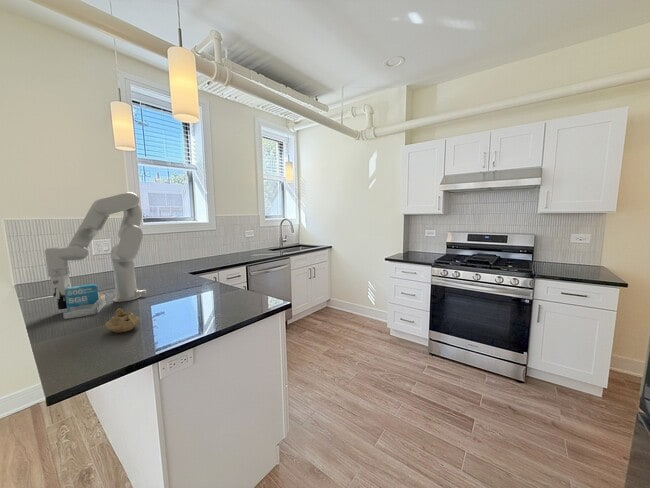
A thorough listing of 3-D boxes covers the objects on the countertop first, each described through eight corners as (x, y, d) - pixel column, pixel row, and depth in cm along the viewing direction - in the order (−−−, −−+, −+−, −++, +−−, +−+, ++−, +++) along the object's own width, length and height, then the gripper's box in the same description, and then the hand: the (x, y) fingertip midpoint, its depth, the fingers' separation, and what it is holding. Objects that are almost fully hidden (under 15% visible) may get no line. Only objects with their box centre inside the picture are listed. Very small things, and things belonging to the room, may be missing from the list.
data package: (67, 313, 131) (64, 289, 130) (68, 311, 134) (64, 287, 133) (99, 307, 139) (96, 284, 138) (99, 305, 142) (96, 283, 141)
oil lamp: (119, 339, 100) (116, 319, 99) (99, 332, 107) (97, 313, 106) (149, 328, 110) (147, 309, 109) (130, 322, 117) (128, 304, 116)
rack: (105, 303, 145) (104, 294, 145) (97, 313, 129) (96, 303, 129) (76, 307, 140) (75, 297, 139) (64, 319, 123) (62, 307, 123)
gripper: (63, 273, 127) (68, 311, 129) (73, 269, 140) (78, 303, 142) (41, 276, 123) (46, 314, 125) (54, 270, 136) (58, 305, 138)
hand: (63, 308), depth 133 cm, fingers closed
